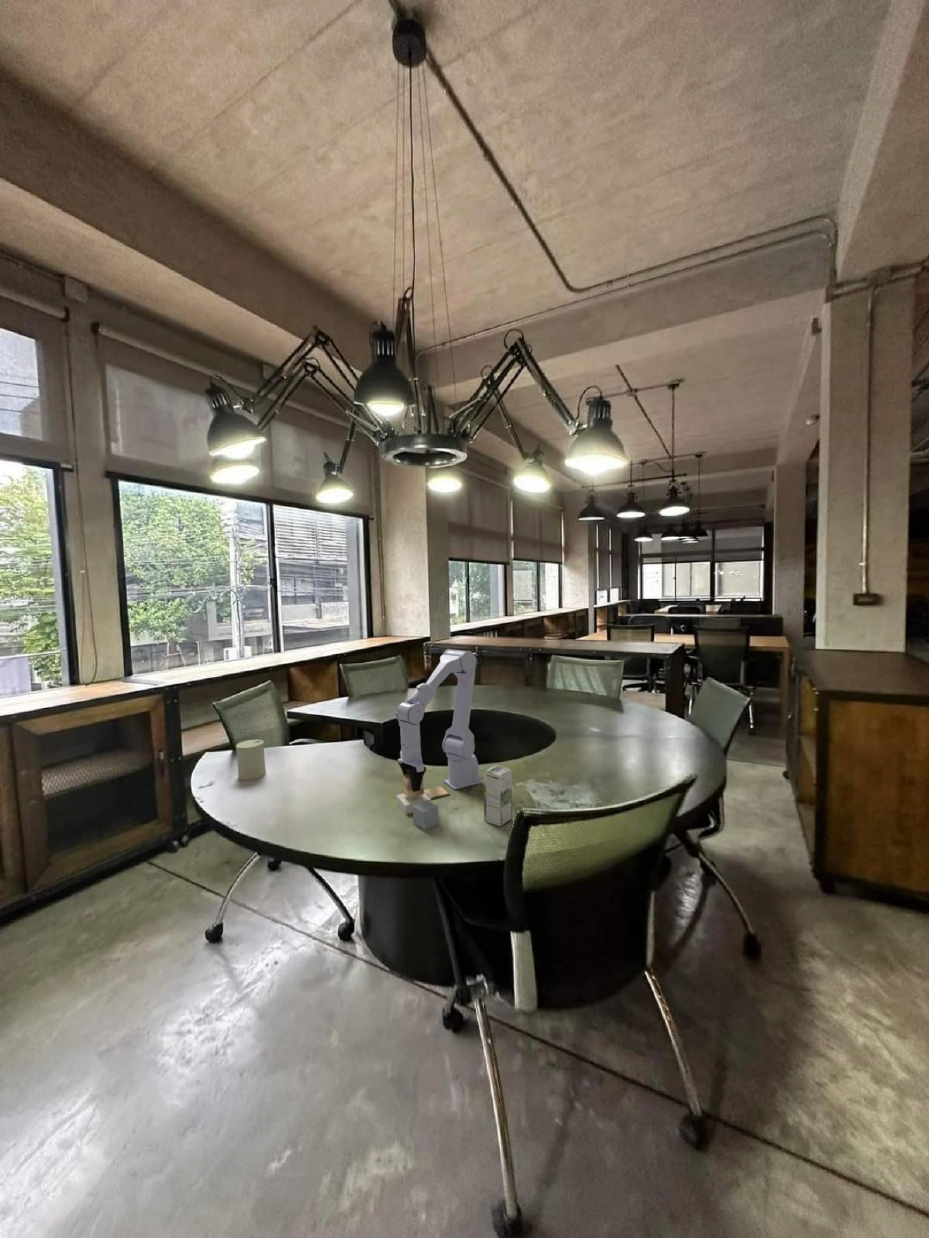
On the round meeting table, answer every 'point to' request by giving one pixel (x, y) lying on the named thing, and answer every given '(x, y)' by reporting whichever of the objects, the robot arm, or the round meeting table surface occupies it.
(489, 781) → the syrup box
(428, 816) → the slate cube
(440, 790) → the tile
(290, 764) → the round meeting table surface
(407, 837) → the round meeting table surface
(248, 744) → the can
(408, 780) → the maple cube
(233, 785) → the round meeting table surface
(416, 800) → the base block
